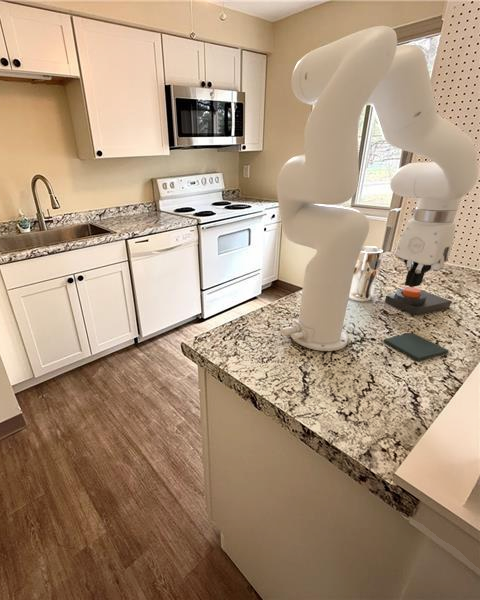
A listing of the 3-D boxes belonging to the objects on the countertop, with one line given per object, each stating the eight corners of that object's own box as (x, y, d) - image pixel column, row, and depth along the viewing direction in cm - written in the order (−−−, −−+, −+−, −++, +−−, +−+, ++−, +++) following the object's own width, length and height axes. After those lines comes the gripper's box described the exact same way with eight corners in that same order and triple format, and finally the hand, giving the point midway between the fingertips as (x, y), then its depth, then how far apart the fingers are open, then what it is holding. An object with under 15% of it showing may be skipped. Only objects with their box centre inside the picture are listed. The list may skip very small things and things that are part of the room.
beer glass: (364, 291, 97) (375, 245, 90) (377, 301, 90) (389, 252, 84) (340, 293, 97) (349, 246, 91) (352, 302, 91) (362, 253, 85)
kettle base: (413, 316, 81) (417, 302, 80) (382, 302, 89) (385, 290, 88) (449, 308, 83) (454, 294, 82) (415, 295, 91) (419, 283, 90)
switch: (411, 299, 83) (413, 293, 82) (398, 294, 86) (400, 288, 85) (422, 296, 83) (424, 290, 82) (409, 291, 86) (411, 286, 86)
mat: (417, 361, 66) (418, 358, 65) (383, 342, 73) (384, 339, 73) (447, 353, 67) (449, 350, 67) (411, 335, 74) (412, 332, 74)
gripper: (392, 213, 81) (375, 278, 89) (456, 222, 68) (430, 298, 76) (415, 210, 83) (396, 274, 90) (482, 219, 69) (454, 293, 77)
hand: (412, 285), depth 83 cm, fingers closed
